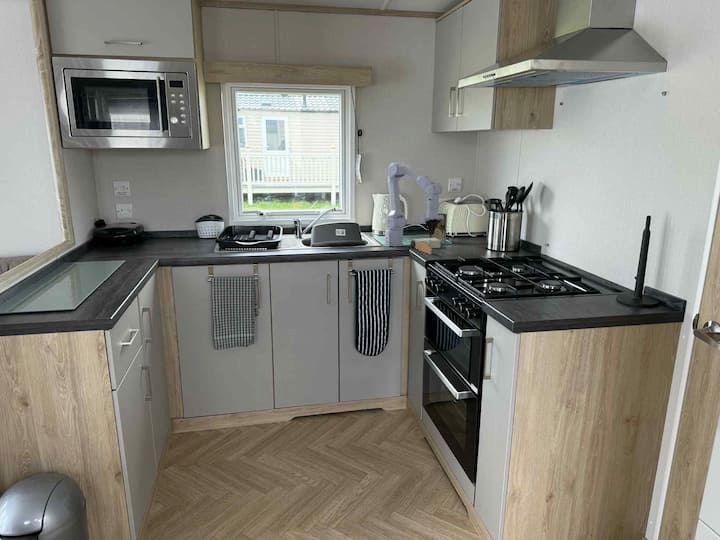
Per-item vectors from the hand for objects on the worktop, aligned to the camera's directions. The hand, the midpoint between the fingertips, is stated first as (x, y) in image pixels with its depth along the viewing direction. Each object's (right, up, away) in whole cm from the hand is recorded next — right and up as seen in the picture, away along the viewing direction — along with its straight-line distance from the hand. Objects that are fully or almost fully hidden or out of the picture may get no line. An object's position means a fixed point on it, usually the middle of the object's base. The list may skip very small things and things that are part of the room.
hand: (431, 234), depth 260 cm
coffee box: (+8, -2, +30) cm, 31 cm away
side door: (-3, -9, +2) cm, 10 cm away
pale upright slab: (-1, -6, +15) cm, 16 cm away
